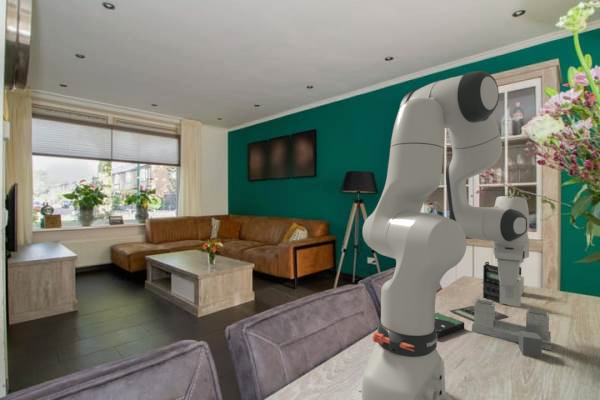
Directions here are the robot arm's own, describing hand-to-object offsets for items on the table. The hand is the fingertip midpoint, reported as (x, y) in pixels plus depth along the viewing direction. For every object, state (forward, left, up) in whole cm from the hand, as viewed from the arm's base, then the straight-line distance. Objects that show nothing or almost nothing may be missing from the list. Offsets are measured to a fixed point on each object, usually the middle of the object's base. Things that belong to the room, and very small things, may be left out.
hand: (510, 295), depth 90 cm
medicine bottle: (+51, +2, -13) cm, 53 cm away
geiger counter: (+34, +7, -13) cm, 37 cm away
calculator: (+14, +10, -13) cm, 22 cm away
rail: (0, 0, -13) cm, 13 cm away
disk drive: (-8, +19, -13) cm, 24 cm away
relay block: (-8, -5, -13) cm, 16 cm away
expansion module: (0, 0, -2) cm, 2 cm away
